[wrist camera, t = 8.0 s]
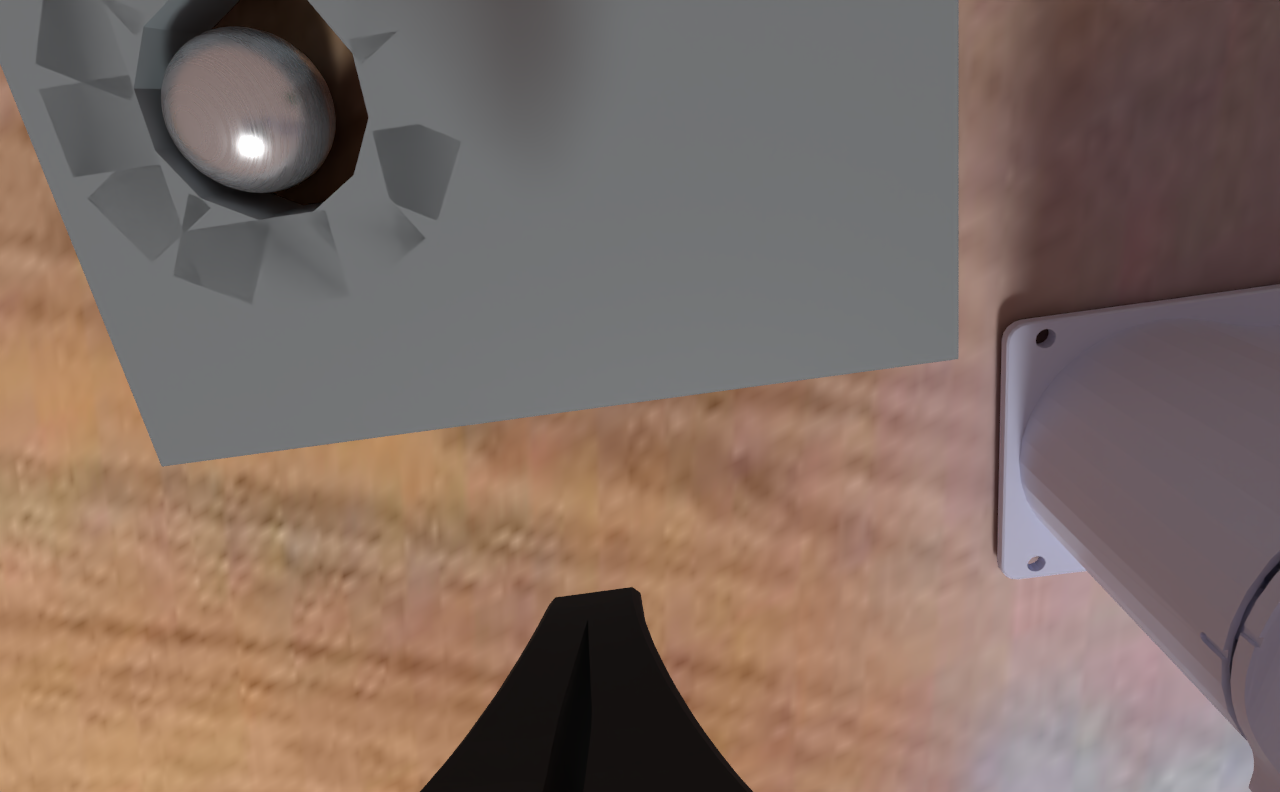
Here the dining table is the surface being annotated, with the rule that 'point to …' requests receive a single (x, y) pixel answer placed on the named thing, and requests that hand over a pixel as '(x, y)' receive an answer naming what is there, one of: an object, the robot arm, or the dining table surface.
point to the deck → (512, 211)
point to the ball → (248, 109)
